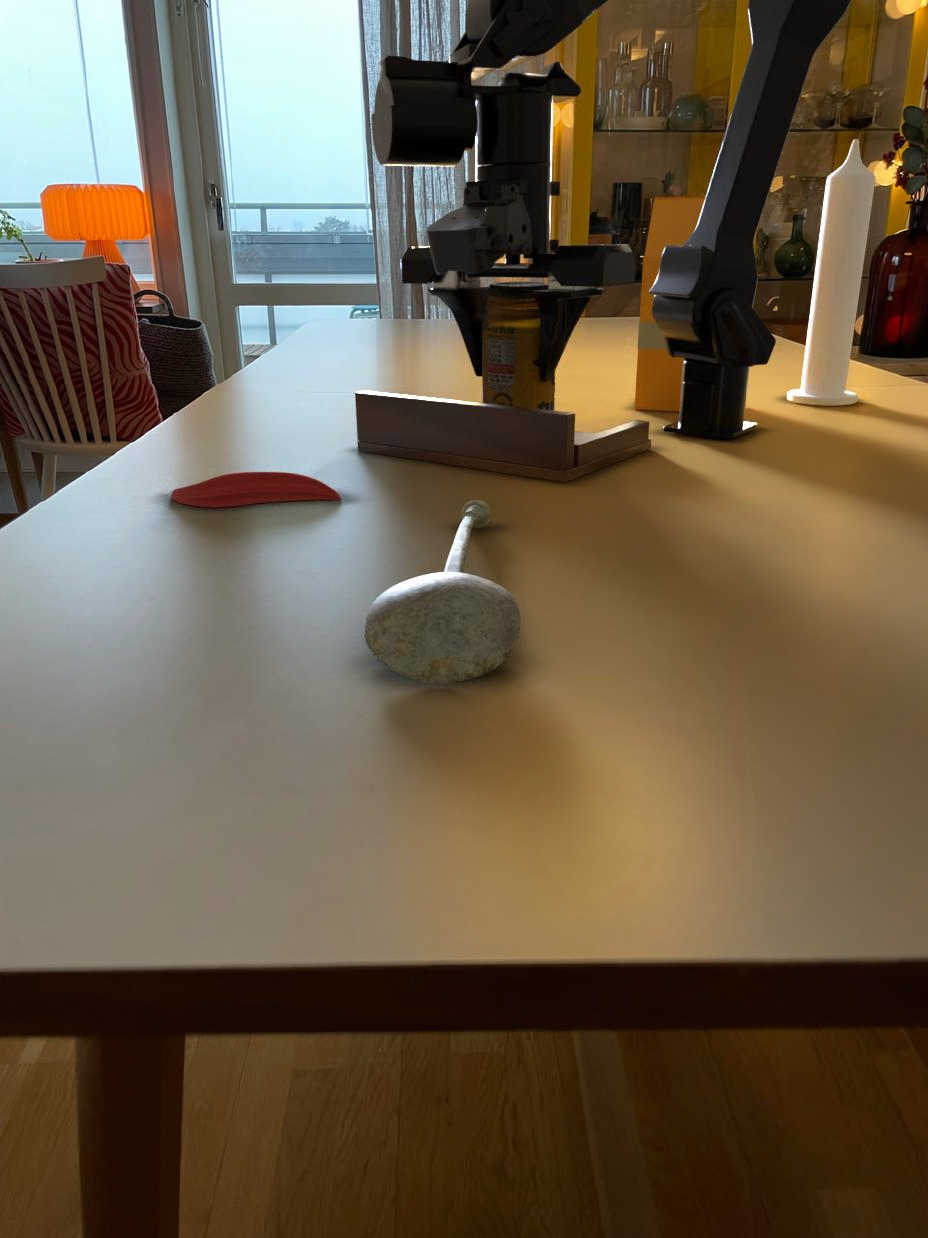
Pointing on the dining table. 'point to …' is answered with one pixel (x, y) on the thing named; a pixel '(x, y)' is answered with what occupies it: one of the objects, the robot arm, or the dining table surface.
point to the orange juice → (654, 365)
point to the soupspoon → (445, 618)
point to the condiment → (514, 348)
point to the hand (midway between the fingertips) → (512, 378)
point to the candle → (837, 284)
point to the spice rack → (491, 436)
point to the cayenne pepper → (253, 489)
